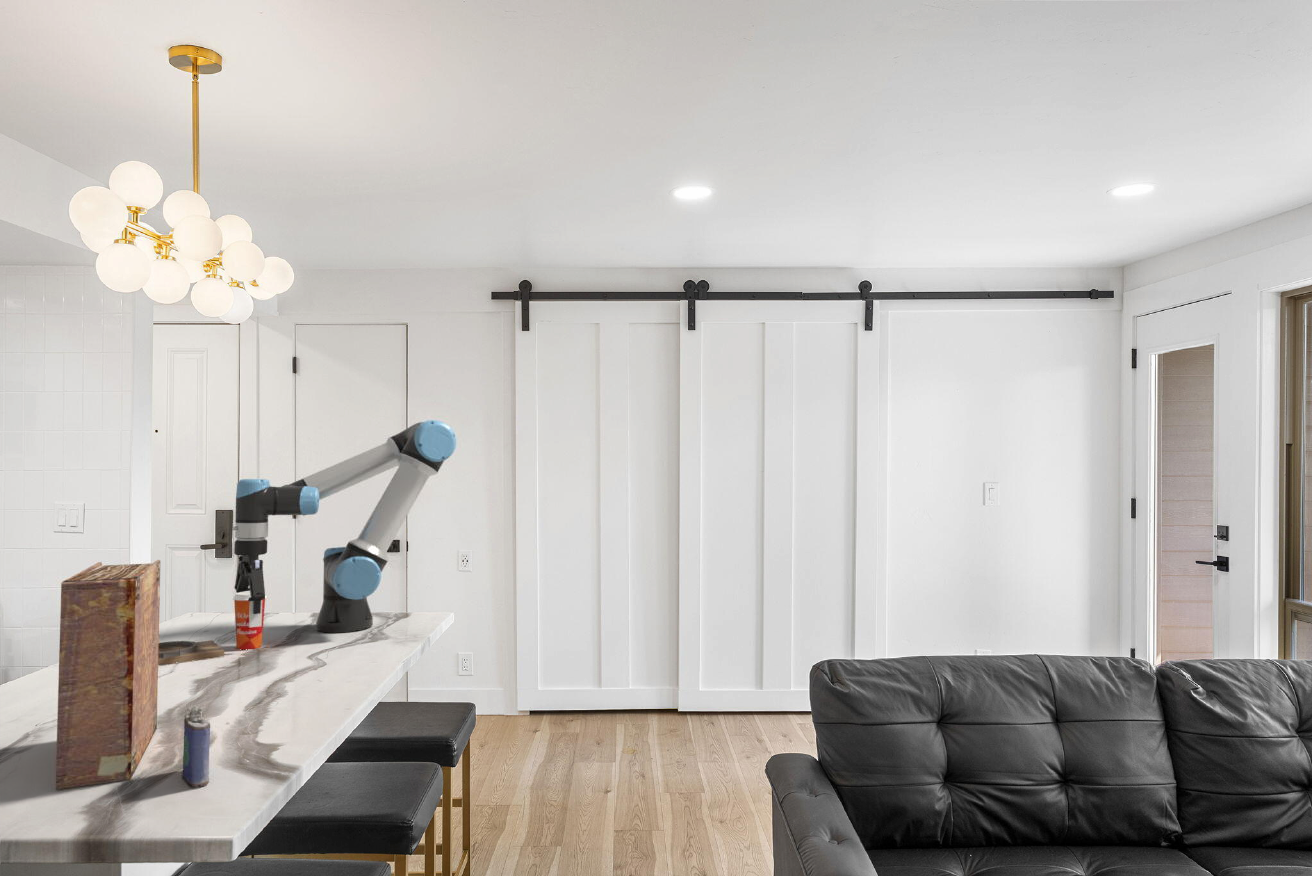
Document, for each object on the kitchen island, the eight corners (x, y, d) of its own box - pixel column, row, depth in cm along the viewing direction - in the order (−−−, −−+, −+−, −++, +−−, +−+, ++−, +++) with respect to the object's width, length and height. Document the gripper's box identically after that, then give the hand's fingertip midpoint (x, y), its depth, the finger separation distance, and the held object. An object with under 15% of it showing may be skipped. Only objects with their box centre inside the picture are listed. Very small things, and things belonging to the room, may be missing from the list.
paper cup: (224, 649, 196) (225, 594, 197) (248, 643, 204) (249, 589, 204) (249, 652, 194) (250, 595, 194) (273, 645, 201) (274, 590, 202)
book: (95, 735, 135) (99, 561, 136) (157, 727, 139) (161, 559, 140) (54, 791, 112) (60, 582, 113) (131, 780, 116) (136, 578, 117)
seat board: (211, 646, 200) (211, 635, 200) (223, 656, 190) (224, 645, 190) (107, 659, 186) (107, 648, 186) (114, 671, 175) (115, 659, 176)
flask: (210, 785, 114) (211, 711, 114) (187, 790, 112) (188, 715, 113) (200, 766, 121) (201, 697, 122) (178, 771, 119) (179, 700, 120)
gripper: (223, 536, 207) (220, 616, 206) (247, 543, 188) (244, 632, 187) (254, 534, 212) (252, 613, 211) (280, 542, 193) (277, 628, 192)
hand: (248, 622), depth 199 cm, fingers open, 13 cm apart
